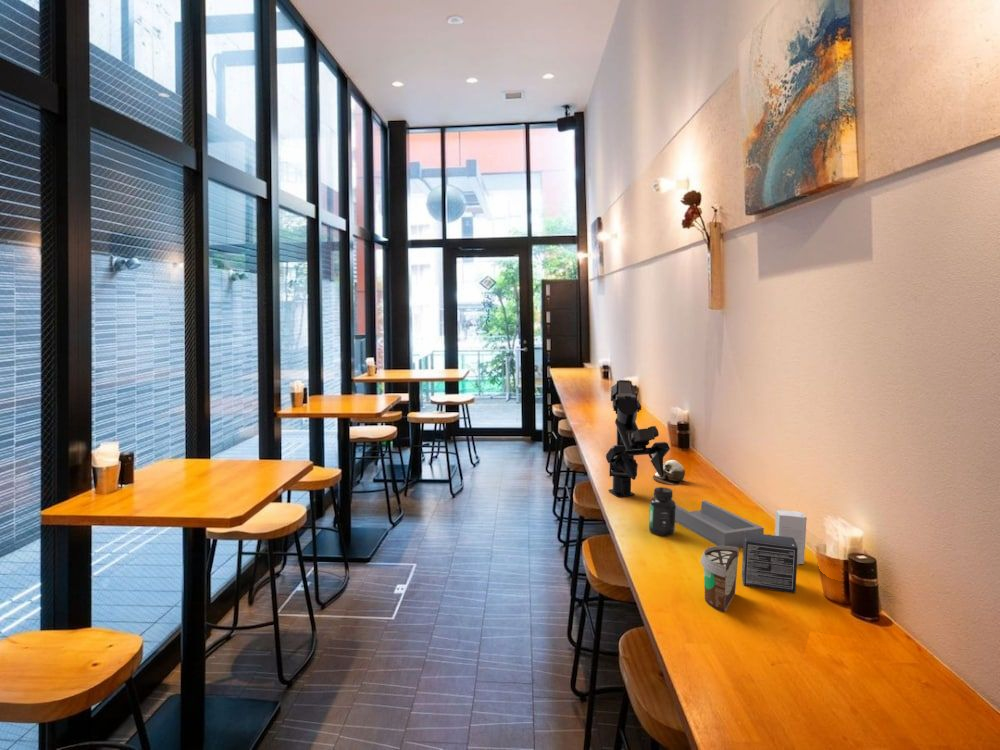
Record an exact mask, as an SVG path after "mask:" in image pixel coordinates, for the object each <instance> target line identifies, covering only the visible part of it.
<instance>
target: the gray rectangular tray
mask: <svg viewBox="0 0 1000 750" xmlns="http://www.w3.org/2000/svg"><path fill="white" fill-rule="evenodd" d="M700 504H701V506H700V509H701V510H700V509H699V510H691V511H689V510H687V509H685V508H684V507H682V506H679V505H678V504H676V513H675V523H677V524H679V525H681V526H682V527H684V528H686V529H687V530H690V531H691V532H692V533H695V534H696V535H698V536H699V537H702V538H703V539H705V540H707V541H709V542H710V543H712V544H714V545H715V546H731V547H737V548H739V549H740V548H743V541H744V532H749V533H757V534H765V533H764V531H765V530H764V529H765V528H764V527H763V526H761V525H758V524H756V523H754V522H752V521H750V520H748V519H746V518H744V517H741V516H739V515H737V514H735V513H733V512H731V511H729V510H728V509H727V510H726V508H725V509H724V508H722V507H721V506H718V505H716V504H714V503H712V502H710V501H709V500H701V503H700Z"/></svg>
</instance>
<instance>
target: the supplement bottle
mask: <svg viewBox="0 0 1000 750" xmlns="http://www.w3.org/2000/svg"><path fill="white" fill-rule="evenodd" d="M673 497H674V496H673V490H672V489H671V488H668V487H663V486H662V487H661V486H659V487H655V488H654V490H653V497H652V498H651V499H650V501H649V516H648V517H649V518H648V519H649V520H648V531H649V533H651V534H653V535H655V536H659V537H670V536H673V535H674V534H675V530H676V529H675V528H676V522H675V513H676V505H677V503H676V501H675V499H673Z"/></svg>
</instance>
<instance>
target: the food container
mask: <svg viewBox="0 0 1000 750" xmlns="http://www.w3.org/2000/svg"><path fill="white" fill-rule="evenodd" d="M739 549H740V547H739V548H737V547H731V546H717V545H715V546H710V547H708V548H706V549H705V550H704V551H703V553H702V556H701V558H700V564H701V566H702V567H703V577H704V578H703V579H704V581H703V583H704V584H703V585H704V600H705V602H706V604H707V605H708V606H710V608H713V609H715V610H716V611H719V612H722V613H725V612H726V611H727V609H728V607H729V605H730V604H731V602H732V601H733V598H734V596H735V594H736V587H737V576H738V563H739V556H740V555H739V553H740V551H739Z"/></svg>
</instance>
